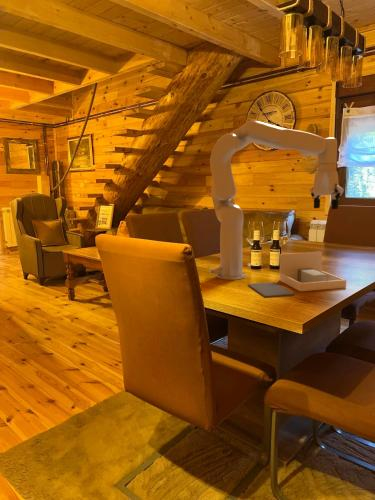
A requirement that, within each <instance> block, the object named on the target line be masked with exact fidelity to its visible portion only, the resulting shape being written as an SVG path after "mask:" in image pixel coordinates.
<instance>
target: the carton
mask: <svg viewBox="0 0 375 500" xmlns="http://www.w3.org/2000/svg"><path fill="white" fill-rule="evenodd" d="M322 264H323V251H310V252H294V253H292V252H291V253H279V282H282V283H284V284H286V285H287V286H289V287H291V288H293V289H295V290H297V291H299V292H309V291H311V292H312V291H319V290H332V289H333V290H334V289H346V288H347V279H345V278H342V277H339V276H337V275H335V274H332V273H329V272H326V271H323V270H322V269H323V268H322V266H323V265H322ZM304 268H311V269H314V270H316V271H319V272H321V273H324V274H326V281H319V282H306V283H301V282H299V281H297V274H298V269H304Z"/></svg>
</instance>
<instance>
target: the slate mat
mask: <svg viewBox="0 0 375 500" xmlns="http://www.w3.org/2000/svg"><path fill="white" fill-rule="evenodd" d="M247 286H248V287H249V288H251V289H252V290H253V291H255V292H257V293H258V294H259V295H261V296H263V297H264V298H276V297H277V298H278V297H279V298H280V297H288V296H289V297H290V296H295V293H294V292H292V291H291V290H289V289H287V288H286V287H284V286H282V285H280V284H279V283H276V282H275V281H271V282H258V283H249V284H247Z"/></svg>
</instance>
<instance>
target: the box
mask: <svg viewBox="0 0 375 500" xmlns="http://www.w3.org/2000/svg"><path fill="white" fill-rule="evenodd" d="M296 281H298V282H300V283H306V282H319V281H327V280H326V274H324V273H321V272H319V271H316V270H314V269H311V268H304V269H298V274H297V280H296Z"/></svg>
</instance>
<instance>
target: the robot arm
mask: <svg viewBox="0 0 375 500" xmlns="http://www.w3.org/2000/svg"><path fill="white" fill-rule="evenodd" d="M252 143H254V144H258V145H262V146H265V147H269V148H272V149H276V150H296V151H298V153H299V155H300V156H302V157H304V158H310V157H317V166H316V170H317V171H316V172H315V175H314V180H313V187H311V188H309V192H310V196H311V197H312V200H313V209H320V208H321V199H320V197H322V196H331V197H332V200H331V210H338V209H339V200H340V199H341V197H342V196H343V193H344V191H345V188H344V187H342V186H340V185H339V184H340V183H339V174H338V173H339V172H338V171H337V165H338V164H337V163H338V162H337V160H338V140H337V138H335V137H326V138H325V137H324V138H323V137H322V136H320V135H319V134H314V133H311V132H307V131H302V130H297V129H289V128H284V127H280V126H277V125H272V124H269V123H267V122H266V123H265V122H262V121H258V120H249V121H247V122H245V123H244V124H242V125H240V126H239V127H238V128H236V129H234V130H232V131H231V132H228V133H225V134H223V135H222V136H220V138H218V139H217V140H216V142H215V144H214V146H213V147H212V151H211V154H210V157H209V167H210V172H211V177H212V182H213V183H212V185H211V188H210V195H211V199H212V204H213V208H214V211H215V212H214V213H215V216H216V218H217V220H218V221H219V222H220V230H219V244H220V245H219V247H220V248H219V249H220V250H219V251H220V253H219V256H220V265H218V267H216V268H209V273H210V274H215V275H216V278H218V279H220V280H224V281H225V280H226V281H227V280H228V281H236V280H237V281H238V280H243V279H245V278H246V277H247V274H246V273H245V272H243V232H244V231H243V228H244V219H245V218H244V217H245V216H244V212H243V209H242V208H241V207H240V206H239V205H238V204H236V203H235V196H236V194H237V186H236V184H235V179H234V178H235V177H234V174H233V170H232V169H233V168H232V158H233V155H234V154H235V153H236V152H238V151H240V150H242V149H243V148H245V147H247V146H248V145H250V144H252Z"/></svg>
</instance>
